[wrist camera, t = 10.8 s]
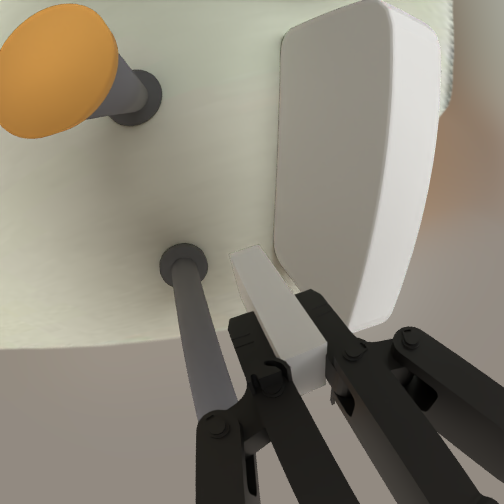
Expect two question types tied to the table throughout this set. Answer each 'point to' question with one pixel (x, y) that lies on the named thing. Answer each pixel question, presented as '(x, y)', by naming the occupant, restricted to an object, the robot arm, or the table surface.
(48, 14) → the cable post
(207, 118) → the table surface
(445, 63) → the table surface
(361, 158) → the rounded white slab
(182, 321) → the cable post
